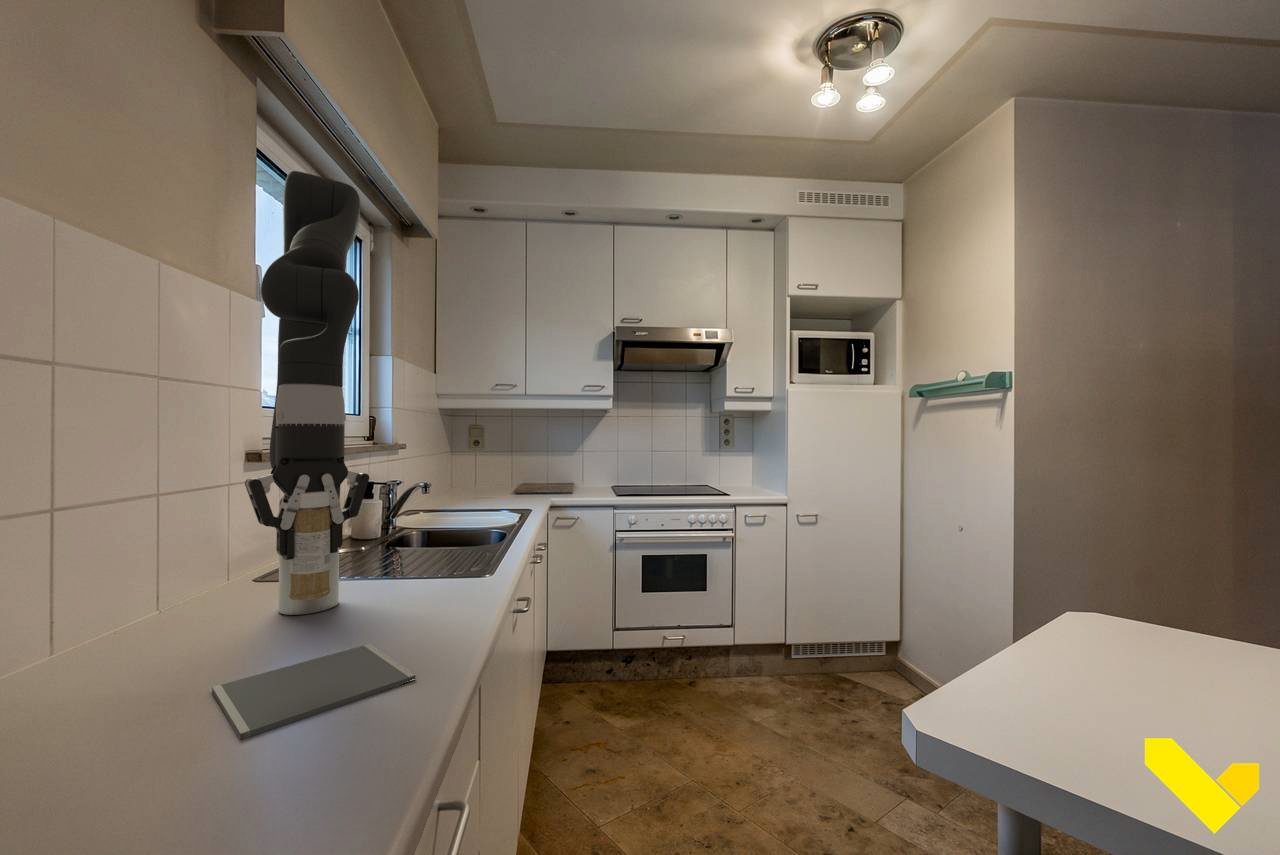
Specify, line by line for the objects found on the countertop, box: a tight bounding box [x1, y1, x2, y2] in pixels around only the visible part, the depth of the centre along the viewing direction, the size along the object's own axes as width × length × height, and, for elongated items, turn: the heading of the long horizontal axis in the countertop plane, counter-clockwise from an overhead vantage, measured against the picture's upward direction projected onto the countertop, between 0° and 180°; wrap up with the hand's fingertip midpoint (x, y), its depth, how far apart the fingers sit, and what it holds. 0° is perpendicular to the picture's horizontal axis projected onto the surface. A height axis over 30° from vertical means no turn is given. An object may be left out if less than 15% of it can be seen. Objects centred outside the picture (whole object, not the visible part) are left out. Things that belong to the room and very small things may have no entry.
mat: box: [211, 643, 416, 741], centre depth 66 cm, size 15×18×1 cm
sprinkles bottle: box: [289, 491, 330, 600], centre depth 68 cm, size 5×5×13 cm
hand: (310, 554), depth 68 cm, fingers closed on sprinkles bottle, 4 cm apart
